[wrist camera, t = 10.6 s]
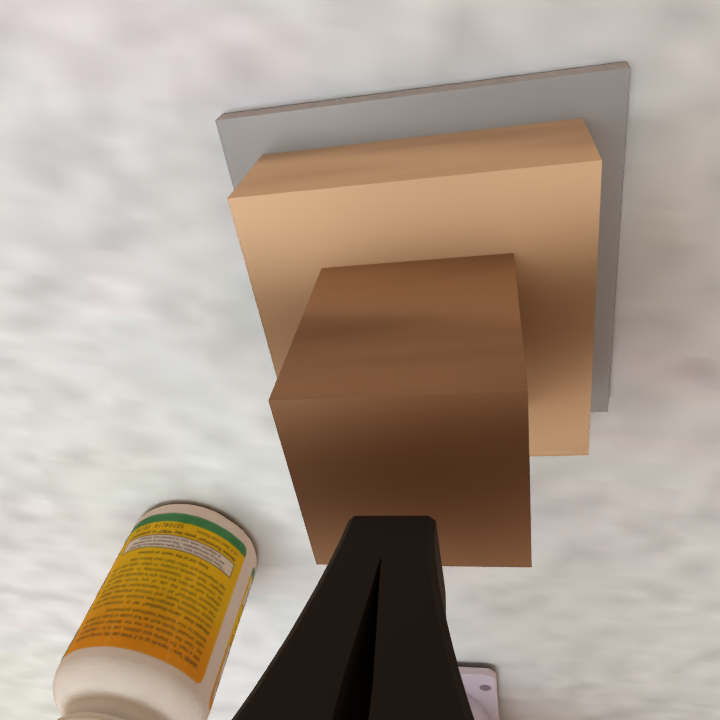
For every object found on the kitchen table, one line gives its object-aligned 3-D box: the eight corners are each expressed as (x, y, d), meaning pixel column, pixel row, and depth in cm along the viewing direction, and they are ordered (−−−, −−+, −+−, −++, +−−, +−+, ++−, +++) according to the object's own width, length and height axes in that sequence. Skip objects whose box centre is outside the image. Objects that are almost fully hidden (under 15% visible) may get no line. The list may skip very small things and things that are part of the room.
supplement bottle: (273, 582, 29) (201, 836, 21) (161, 583, 30) (54, 823, 23) (238, 495, 26) (138, 753, 18) (115, 499, 27) (-26, 743, 20)
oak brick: (574, 386, 20) (588, 454, 18) (319, 396, 22) (300, 460, 19) (582, 117, 16) (602, 159, 13) (261, 154, 17) (227, 198, 15)
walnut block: (518, 407, 17) (531, 567, 13) (351, 413, 18) (316, 564, 14) (513, 252, 15) (528, 391, 11) (321, 267, 16) (268, 400, 12)
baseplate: (604, 399, 21) (607, 411, 21) (300, 409, 23) (296, 420, 23) (625, 62, 16) (630, 67, 15) (222, 114, 18) (215, 120, 17)
